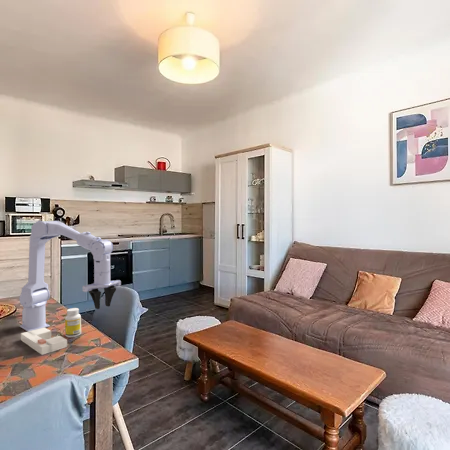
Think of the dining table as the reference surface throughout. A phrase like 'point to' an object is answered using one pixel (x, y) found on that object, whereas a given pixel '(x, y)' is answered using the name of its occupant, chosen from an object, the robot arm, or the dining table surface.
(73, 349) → the dining table surface
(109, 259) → the robot arm
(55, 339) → the socket dock
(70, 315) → the supplement bottle
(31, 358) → the dining table surface
